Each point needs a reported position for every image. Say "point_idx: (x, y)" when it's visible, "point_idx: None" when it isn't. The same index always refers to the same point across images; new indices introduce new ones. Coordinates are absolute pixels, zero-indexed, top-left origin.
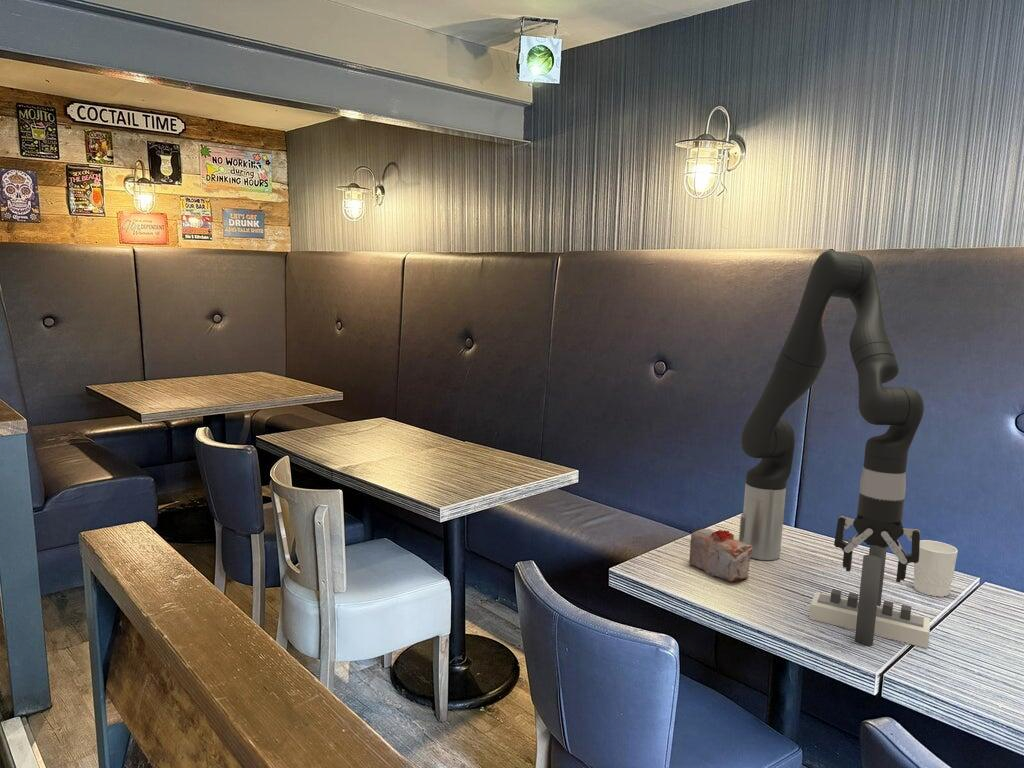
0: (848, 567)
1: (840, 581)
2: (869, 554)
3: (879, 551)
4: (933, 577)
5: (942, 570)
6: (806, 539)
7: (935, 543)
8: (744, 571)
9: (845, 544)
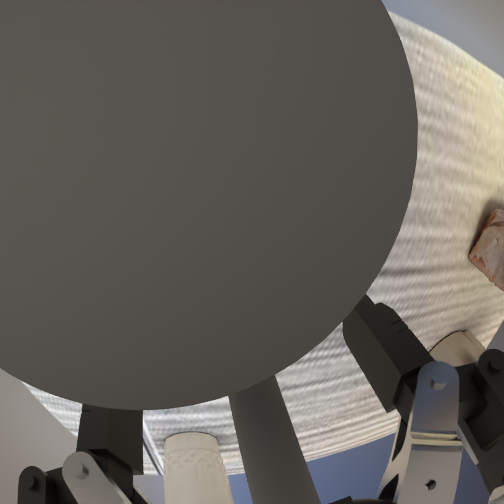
0: (364, 307)
1: (324, 381)
2: (299, 450)
3: (268, 477)
4: (182, 462)
5: (172, 478)
6: (378, 430)
7: None
8: (490, 242)
9: (460, 402)
